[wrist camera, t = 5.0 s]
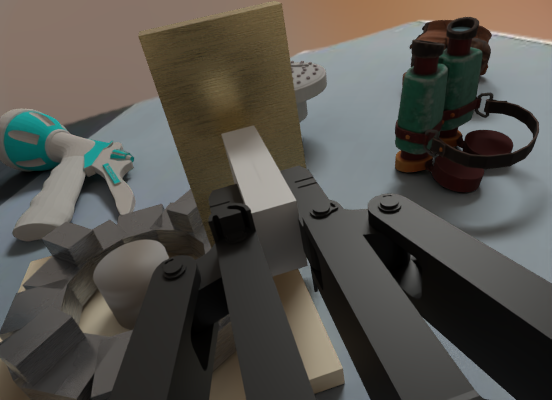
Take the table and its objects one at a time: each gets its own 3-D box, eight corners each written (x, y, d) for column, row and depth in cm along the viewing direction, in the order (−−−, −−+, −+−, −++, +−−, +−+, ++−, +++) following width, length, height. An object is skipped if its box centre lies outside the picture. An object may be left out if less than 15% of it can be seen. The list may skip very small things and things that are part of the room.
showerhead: (207, 88, 37) (255, 55, 44) (226, 156, 41) (267, 116, 48) (301, 85, 33) (337, 50, 40) (312, 162, 37) (342, 117, 44)
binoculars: (534, 71, 21) (379, 41, 27) (489, 221, 27) (372, 168, 34) (597, 26, 25) (450, 9, 31) (545, 165, 32) (431, 127, 38)
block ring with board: (-19, 465, 17) (-366, 193, 9) (53, 259, 28) (-74, 62, 21) (363, 336, 19) (339, 24, 11) (285, 192, 31) (247, -9, 23)
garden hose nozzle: (114, 190, 31) (153, 85, 47) (-110, 213, 31) (4, 100, 46) (140, 252, 36) (168, 138, 51) (-55, 272, 36) (32, 151, 51)
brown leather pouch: (382, 90, 50) (402, 22, 48) (445, 108, 53) (466, 43, 51) (438, 92, 39) (467, 3, 37) (515, 114, 41) (546, 31, 39)
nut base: (-57, 523, 17) (-134, 478, 14) (38, 273, 30) (7, 227, 28) (344, 383, 19) (336, 322, 16) (267, 207, 32) (256, 159, 30)
